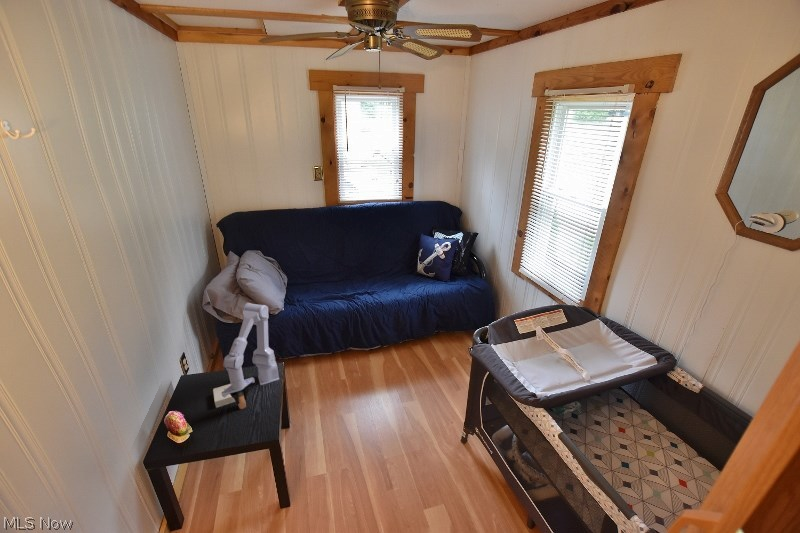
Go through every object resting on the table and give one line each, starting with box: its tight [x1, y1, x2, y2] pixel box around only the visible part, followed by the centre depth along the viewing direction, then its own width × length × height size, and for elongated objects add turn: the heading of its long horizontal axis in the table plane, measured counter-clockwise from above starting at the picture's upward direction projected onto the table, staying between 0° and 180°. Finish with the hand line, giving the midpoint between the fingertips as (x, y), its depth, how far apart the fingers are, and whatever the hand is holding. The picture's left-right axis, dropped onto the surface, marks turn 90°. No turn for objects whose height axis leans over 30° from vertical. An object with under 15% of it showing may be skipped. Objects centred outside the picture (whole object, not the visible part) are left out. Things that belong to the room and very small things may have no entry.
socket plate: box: [212, 383, 248, 409], centre depth 179 cm, size 14×10×4 cm
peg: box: [236, 389, 247, 410], centre depth 171 cm, size 3×3×9 cm
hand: (241, 400), depth 172 cm, fingers closed on peg, 3 cm apart
